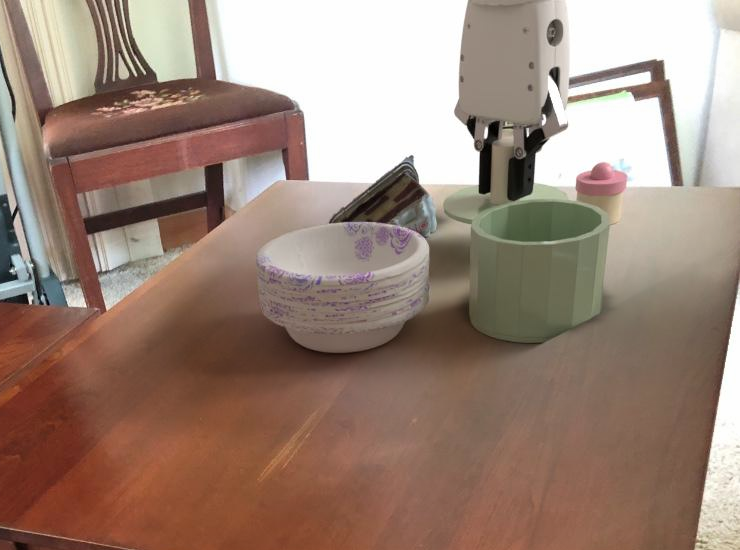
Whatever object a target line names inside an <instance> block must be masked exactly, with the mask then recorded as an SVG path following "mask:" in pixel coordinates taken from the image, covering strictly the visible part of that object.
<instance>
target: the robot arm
mask: <svg viewBox="0 0 740 550" xmlns="http://www.w3.org/2000/svg"><path fill="white" fill-rule="evenodd" d="M569 25H570V24H569V16H568V7H567V1H566V0H467V4H466V9H465V14H464V20H463V25H462V32H461V33H462V35H461V39H460V40H461V41H460V52H459V65H458V99H457V102H456V104H455V106H454V110H453V114H454V116H455V117H456V118H457V119H458V121H460V122H461V123H462V124H463V125H464V126H466V129H467V131H468V133H469V134H470V137H472V138H473V147H474V150H475V151H476V152H477V153H479V157H478V158H479V161H478V185H479V194H483V195H485V194H487V193H490V184H491V156H492V143H493V142H494V141H496V140H499V139H501V138H502V130H503V121H504V122H510V123H513V134H514V155H515V157H512V158H510V159H509V164H508V186H507V198H508V200H510V201H516V200H518V199H521V198H523V197H526V196H528V195H530V194H531V193H532V192H533V185H534V183H535V173H536V171H535V170H536V154H537V153H540V152H541V151H542V149H543V147H544V145H546V143H548V141H549V140H550V139H552V137H555V136H557V135H559V134H561V133H563V132H565V131H566V130H567V129H568V128H569V121H568V118H567V115H566V112H565V111H566V110H567V106H568V101H569V88H570V27H569ZM543 115H544V116H545V123H544V124H543ZM489 123H490V124H489ZM527 128H529V132H528V133H527Z"/></svg>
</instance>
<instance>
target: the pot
mask: <svg viewBox="0 0 740 550" xmlns="http://www.w3.org/2000/svg"><path fill="white" fill-rule="evenodd" d="M610 227H611V225H610V217H609V214H608V213H606V212H605V211H603V210H602V209H601V208H599V207H597V206H594V205H590V204H587V203H583V202H580V201H576V200H569V199H568V200H561V199H535V200H524V201H518V202H512V203H505V204H502V205H499V206H496V207H493V208H490V209H487V210H484V211H483V212H482V213H480V214H479V215H477V216H476V217H474V218H473V221H472V224H470V248H469V249H470V250H469V252H470V255H469V256H470V257H469V300H468V301H469V304H468V305H469V307H468V316H469V321H470V323H471V325H472V326H473V328H474V329H475V330H477V331H478V332H480V333H482V334H484V335H485V336H488V337H491V338H493V339H497V340H501V341H506V342H512V343H521V344H542V343H547V342H548V341H551V340H552V339H554V338H556V337H558V336H560V335H562V334H564V333H565V332H568V331H569V330H571V329H573V328H576V327H577V326H579V325H581V324H583V323H584V322H586V321H589V320H591V319H592V318H594V317H596V316H598V315H600V314H601V310H602V301H603V300H602V299H603V290H604V283H605V282H604V281H605V274H606V273H605V272H606V263H607V254H608V247H609V237H610Z"/></svg>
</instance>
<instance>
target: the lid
mask: <svg viewBox="0 0 740 550" xmlns="http://www.w3.org/2000/svg"><path fill="white" fill-rule="evenodd" d="M512 157H515V155H514V138H506V139H499V140H496V141H494V142H493V143H492V156H491V184H490V193H487V194H485V195H483V194H479V184H476V185H473V186H469V187H465V188H463V189H460V190H457V191H455V192H452V193H450V195H448V196H447V197H446V198H445V199H444V201H443V203H442V211H443V212H444V214H445V216H447V217H448V218H450V219H451V220H454V221H456V222H459V223H462V224H467V225H472V221H473V218H474V217H476V216H477V215H479V214H480V213H482V212H483V211H484V210H487V209H490V208H493V207H496V206H499V205H502V204H505V203H512V202H518V201H524V200H535V199H561V200H569V196H568V194H567V193H566V192H565V191H563V190H562V189H560V188H557V187H555V186H552V185H550V184H549V185H548V184H544V183H538V182H534V185H533V192H532V193H531V194H530V195H528V196H526V197H523V198H521V199H518V200H516V201H510V200H508V198H507V186H508V164H509V159H510V158H512Z"/></svg>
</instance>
